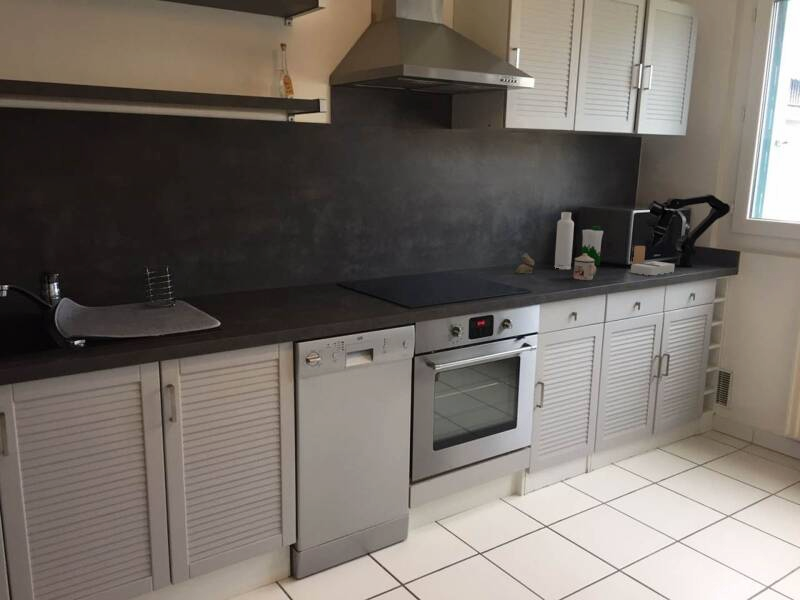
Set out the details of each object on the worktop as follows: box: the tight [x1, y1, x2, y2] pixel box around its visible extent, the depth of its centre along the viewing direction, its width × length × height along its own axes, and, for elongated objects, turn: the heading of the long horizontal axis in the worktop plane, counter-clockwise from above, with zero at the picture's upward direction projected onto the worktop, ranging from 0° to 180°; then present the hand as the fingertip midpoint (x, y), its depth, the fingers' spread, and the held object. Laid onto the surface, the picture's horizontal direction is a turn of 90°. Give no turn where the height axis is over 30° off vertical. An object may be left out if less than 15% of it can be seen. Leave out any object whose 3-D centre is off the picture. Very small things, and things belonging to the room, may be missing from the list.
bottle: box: [554, 211, 575, 270], centre depth 325 cm, size 8×8×28 cm
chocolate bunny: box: [515, 252, 535, 274], centre depth 311 cm, size 6×8×10 cm
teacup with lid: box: [573, 253, 597, 281], centre depth 298 cm, size 12×9×12 cm
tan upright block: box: [633, 245, 646, 264], centre depth 333 cm, size 6×2×11 cm, turn 113°
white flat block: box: [630, 261, 676, 276], centre depth 320 cm, size 20×11×4 cm, turn 127°
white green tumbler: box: [581, 225, 604, 266], centre depth 339 cm, size 9×9×20 cm
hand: (651, 248), depth 336 cm, fingers open, 9 cm apart
